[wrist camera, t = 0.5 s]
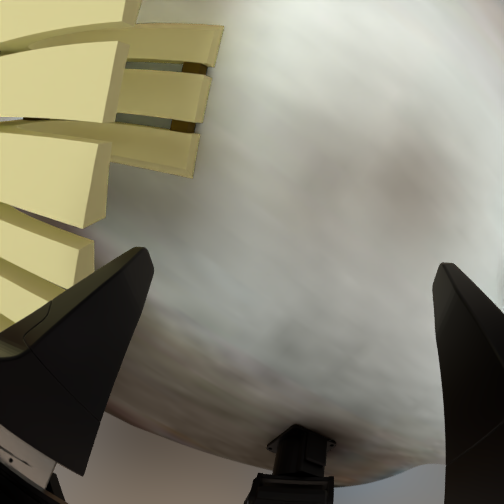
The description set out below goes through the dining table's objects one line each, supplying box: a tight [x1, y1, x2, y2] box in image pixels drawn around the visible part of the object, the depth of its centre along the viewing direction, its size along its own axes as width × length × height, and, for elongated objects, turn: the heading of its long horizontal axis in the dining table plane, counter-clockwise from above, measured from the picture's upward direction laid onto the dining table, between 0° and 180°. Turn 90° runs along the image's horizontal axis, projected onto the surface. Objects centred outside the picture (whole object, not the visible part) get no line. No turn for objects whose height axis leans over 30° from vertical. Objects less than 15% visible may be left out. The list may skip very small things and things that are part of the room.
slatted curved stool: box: [0, 0, 224, 332], centre depth 16 cm, size 30×16×18 cm, turn 168°
